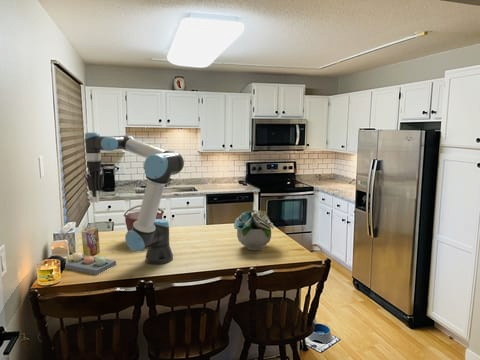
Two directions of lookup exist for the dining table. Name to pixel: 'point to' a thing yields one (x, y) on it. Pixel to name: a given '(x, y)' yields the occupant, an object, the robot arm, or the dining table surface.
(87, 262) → the terracotta button
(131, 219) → the bucket
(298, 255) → the dining table surface
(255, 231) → the flower arrangement
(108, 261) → the slate board
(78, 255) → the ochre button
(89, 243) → the candy box
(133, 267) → the dining table surface
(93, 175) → the robot arm
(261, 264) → the dining table surface
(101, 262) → the sage button
